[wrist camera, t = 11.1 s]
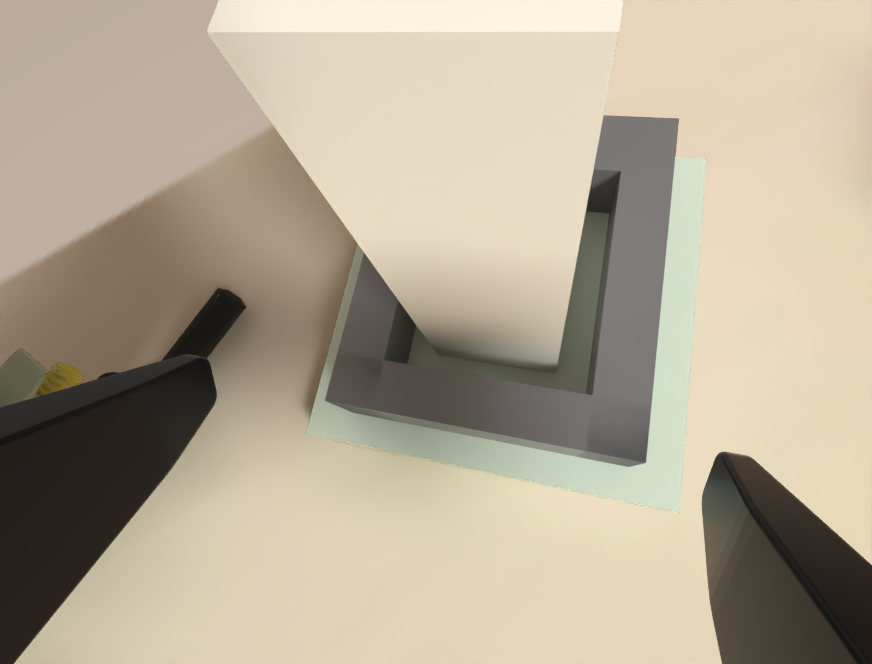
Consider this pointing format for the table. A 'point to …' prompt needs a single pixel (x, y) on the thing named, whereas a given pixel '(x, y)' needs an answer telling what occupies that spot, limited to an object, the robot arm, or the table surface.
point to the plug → (444, 147)
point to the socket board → (579, 354)
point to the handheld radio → (28, 376)
